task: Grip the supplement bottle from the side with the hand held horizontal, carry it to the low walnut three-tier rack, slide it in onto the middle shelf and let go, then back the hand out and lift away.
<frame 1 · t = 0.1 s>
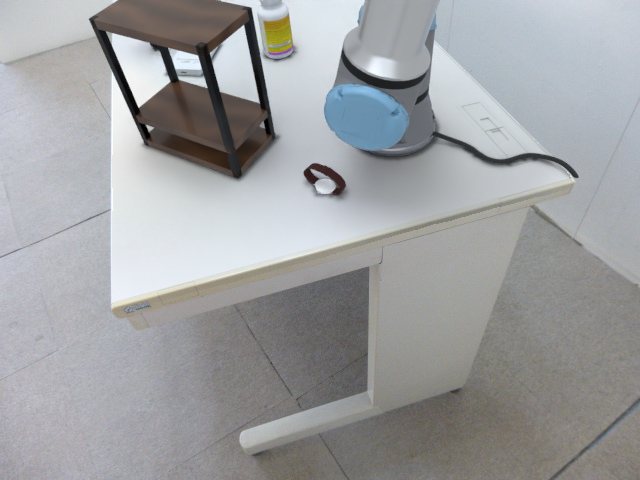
supplement bottle: (279, 52, 112), on the table
microphone: (159, 48, 117), on the table
rack: (209, 141, 94), on the table
hard drive: (194, 60, 113), on the table
watch: (330, 171, 83), point 2 cm above the table
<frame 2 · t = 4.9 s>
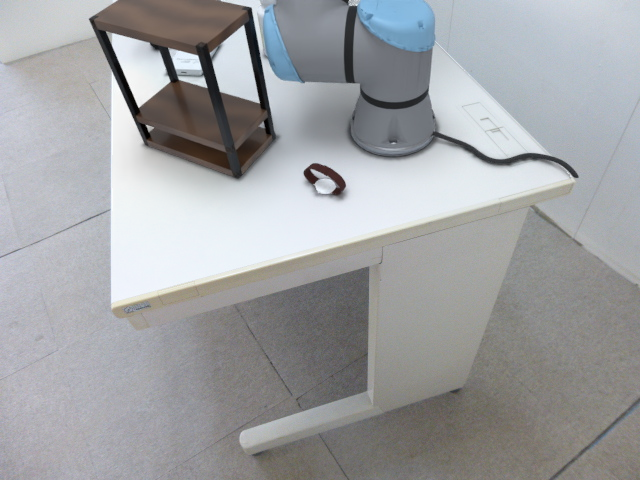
nothing on the table moved.
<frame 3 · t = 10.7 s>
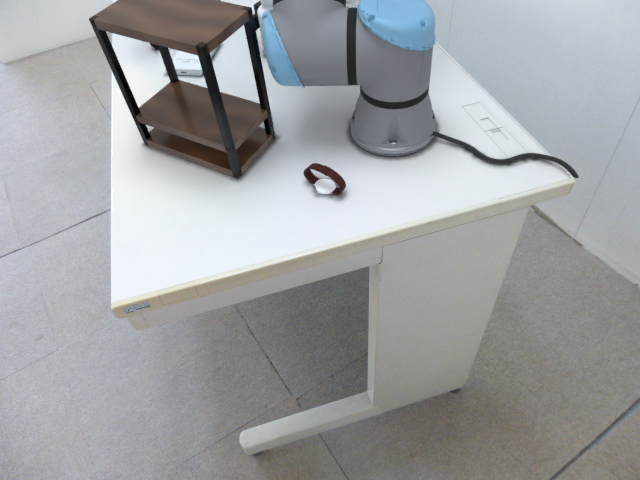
hand: (261, 33, 104), 7 cm above the table, tool horizontal, fingers closed on supplement bottle, 7 cm apart
supplement bottle: (279, 52, 112), on the table, touching gripper
everything else where it was.
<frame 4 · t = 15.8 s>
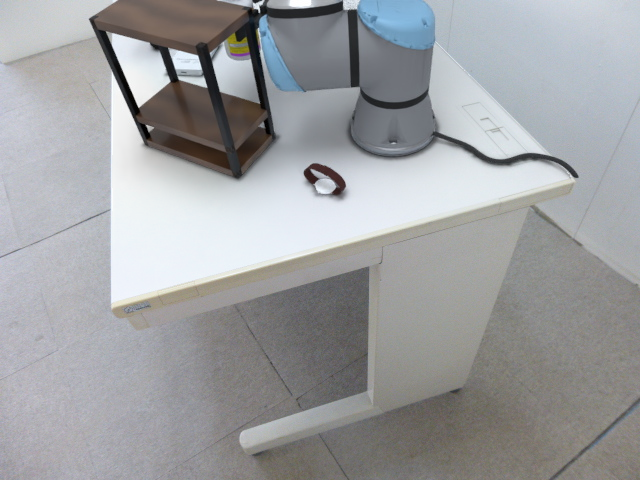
hand: (219, 30, 87), 16 cm above the table, tool horizontal, fingers closed on supplement bottle, 7 cm apart
supplement bottle: (244, 53, 95), point 9 cm above the table, touching gripper
everything else where it was.
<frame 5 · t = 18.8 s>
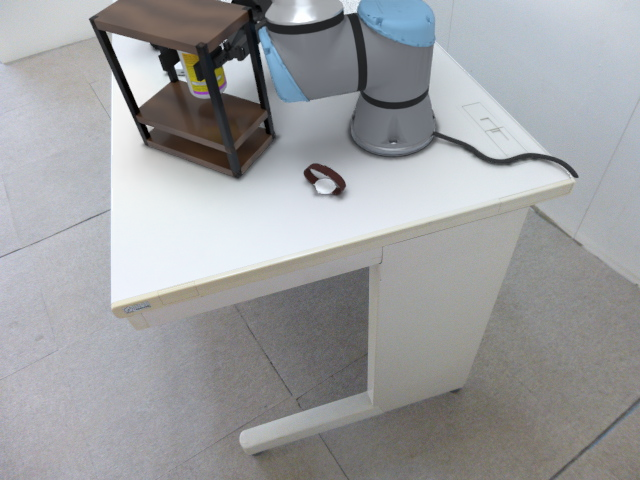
hand: (179, 68, 81), 16 cm above the table, tool horizontal, fingers closed on supplement bottle, 7 cm apart
supplement bottle: (209, 90, 89), point 9 cm above the table, touching gripper
everything else where it was.
when the fingers open (15 cm above the table, at t = 21.9 s): supplement bottle stays where it is, resting on rack.
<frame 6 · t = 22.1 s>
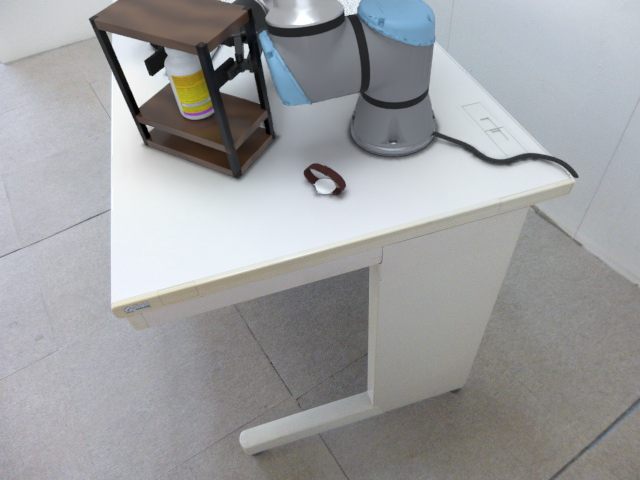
hand: (177, 77, 81), 15 cm above the table, tool horizontal, fingers open, 12 cm apart
supplement bottle: (200, 110, 89), point 7 cm above the table, touching rack
everything else where it was.
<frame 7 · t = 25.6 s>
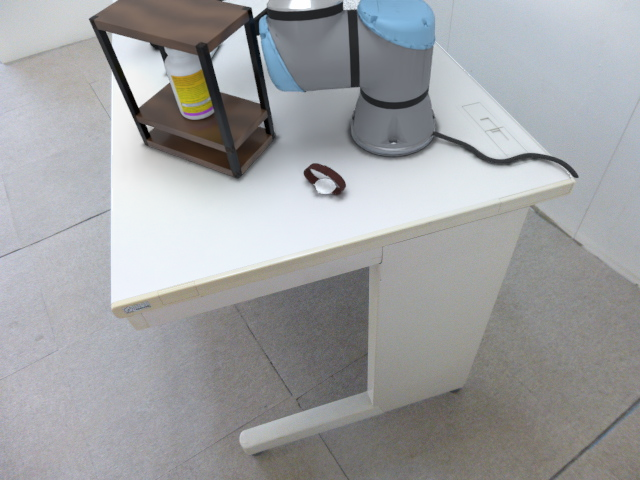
hand: (222, 20, 86), 18 cm above the table, tool horizontal, fingers open, 13 cm apart
nothing on the table moved.
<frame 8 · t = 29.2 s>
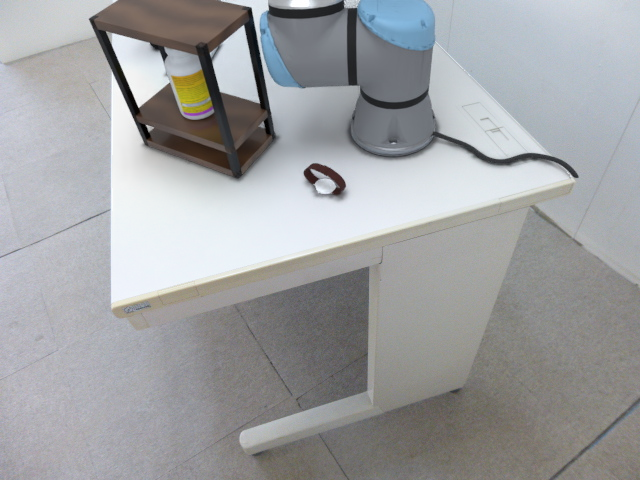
nothing on the table moved.
at the end: supplement bottle inside the target area on the rack (0.1 cm from its centre), point 6.8 cm above the rack's base; supplement bottle tilted 0°; the gripper is holding nothing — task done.
